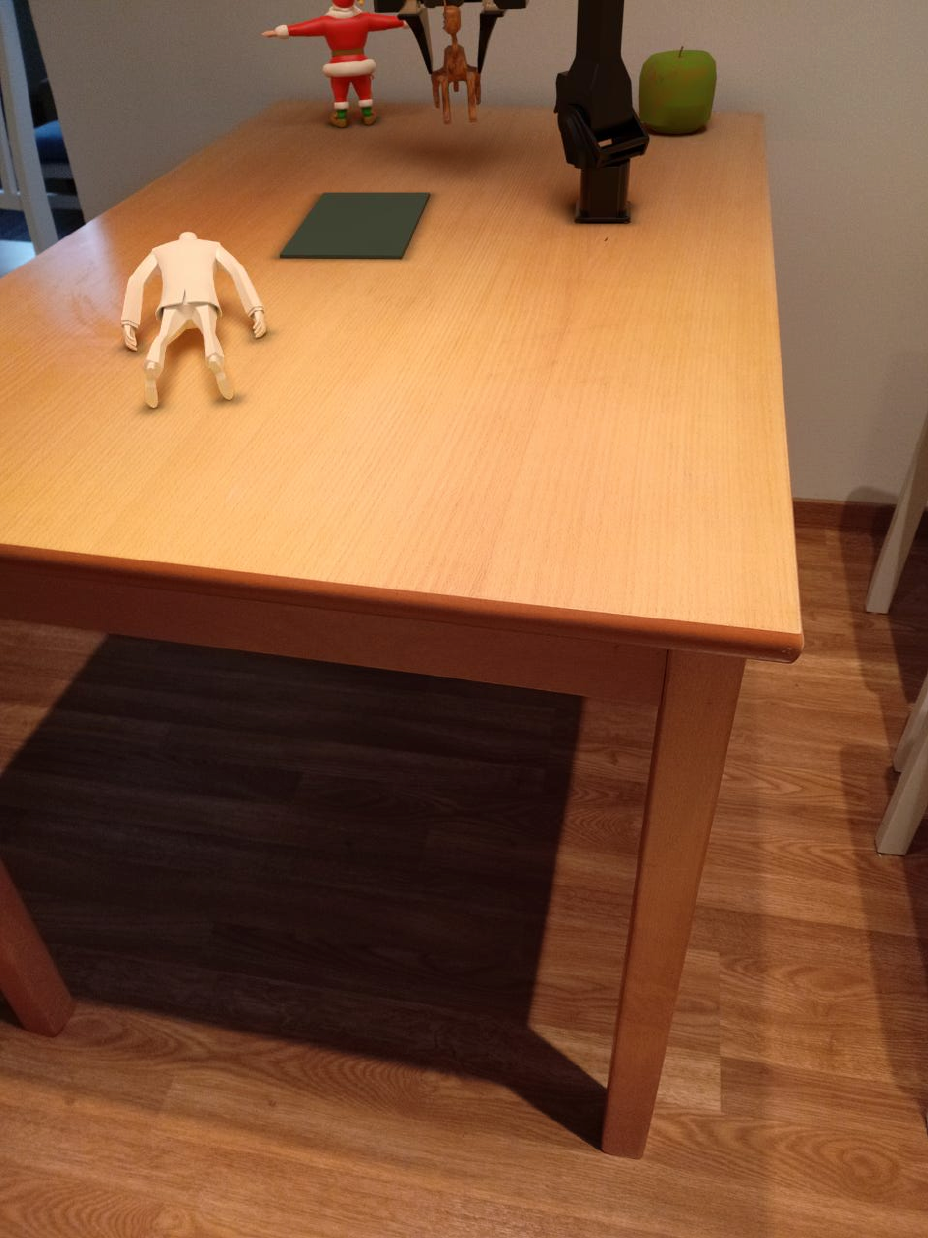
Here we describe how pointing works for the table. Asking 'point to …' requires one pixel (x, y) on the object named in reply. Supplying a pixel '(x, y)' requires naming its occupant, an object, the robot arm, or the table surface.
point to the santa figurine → (345, 52)
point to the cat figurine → (455, 69)
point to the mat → (358, 226)
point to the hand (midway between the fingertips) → (455, 73)
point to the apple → (677, 90)
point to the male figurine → (187, 303)
